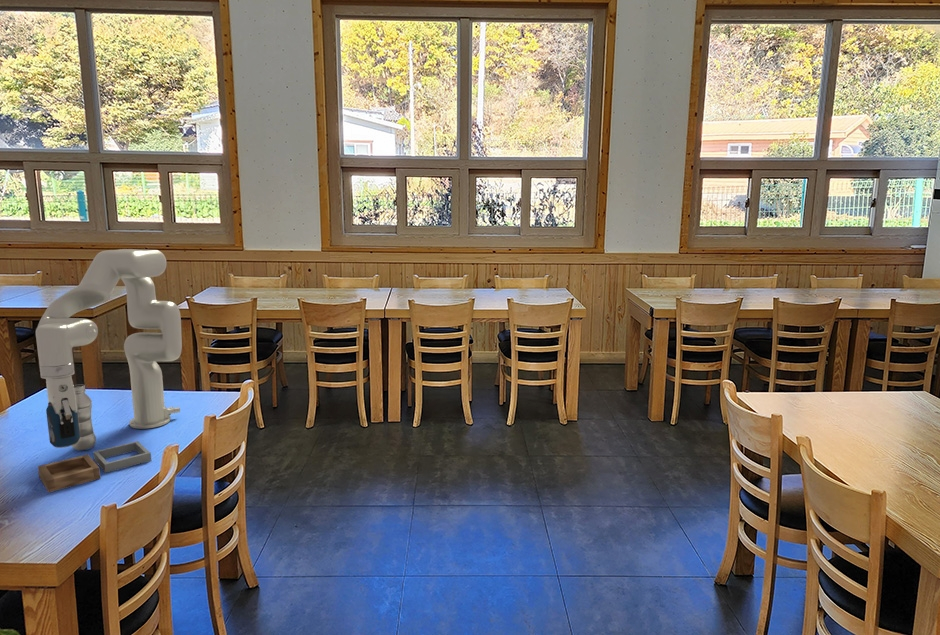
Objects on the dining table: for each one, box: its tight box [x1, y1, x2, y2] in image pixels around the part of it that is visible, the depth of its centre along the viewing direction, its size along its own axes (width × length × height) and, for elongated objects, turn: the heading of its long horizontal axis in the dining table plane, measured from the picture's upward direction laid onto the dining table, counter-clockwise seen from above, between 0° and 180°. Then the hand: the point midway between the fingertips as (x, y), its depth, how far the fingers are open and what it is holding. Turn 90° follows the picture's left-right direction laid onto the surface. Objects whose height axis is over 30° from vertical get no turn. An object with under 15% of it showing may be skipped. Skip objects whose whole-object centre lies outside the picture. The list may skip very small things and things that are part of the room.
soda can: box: [45, 401, 80, 449], centre depth 164 cm, size 7×7×12 cm
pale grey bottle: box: [71, 384, 97, 451], centre depth 185 cm, size 6×7×20 cm
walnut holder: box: [37, 454, 101, 493], centre depth 167 cm, size 12×12×3 cm
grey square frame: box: [93, 440, 152, 474], centre depth 179 cm, size 12×12×2 cm
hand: (64, 432), depth 165 cm, fingers closed on soda can, 6 cm apart
